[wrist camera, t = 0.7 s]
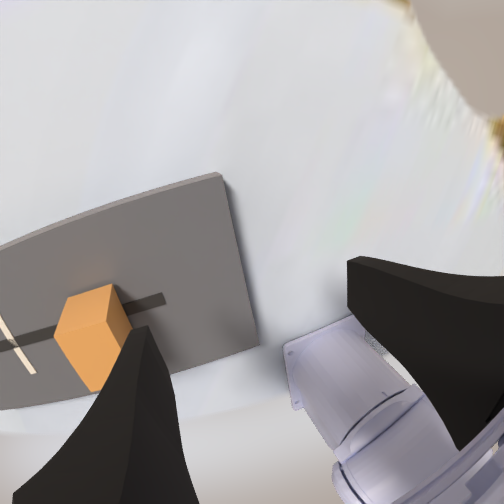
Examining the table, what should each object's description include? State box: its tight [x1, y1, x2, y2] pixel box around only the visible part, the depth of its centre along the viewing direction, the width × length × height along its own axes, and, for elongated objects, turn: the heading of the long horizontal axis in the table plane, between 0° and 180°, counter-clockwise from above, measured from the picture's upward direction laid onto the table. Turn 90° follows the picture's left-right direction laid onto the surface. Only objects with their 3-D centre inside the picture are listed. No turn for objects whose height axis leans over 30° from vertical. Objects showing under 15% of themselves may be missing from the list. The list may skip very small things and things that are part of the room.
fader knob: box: [54, 284, 133, 392], centre depth 15 cm, size 4×3×4 cm
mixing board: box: [0, 172, 260, 410], centre depth 16 cm, size 12×24×2 cm, turn 101°
